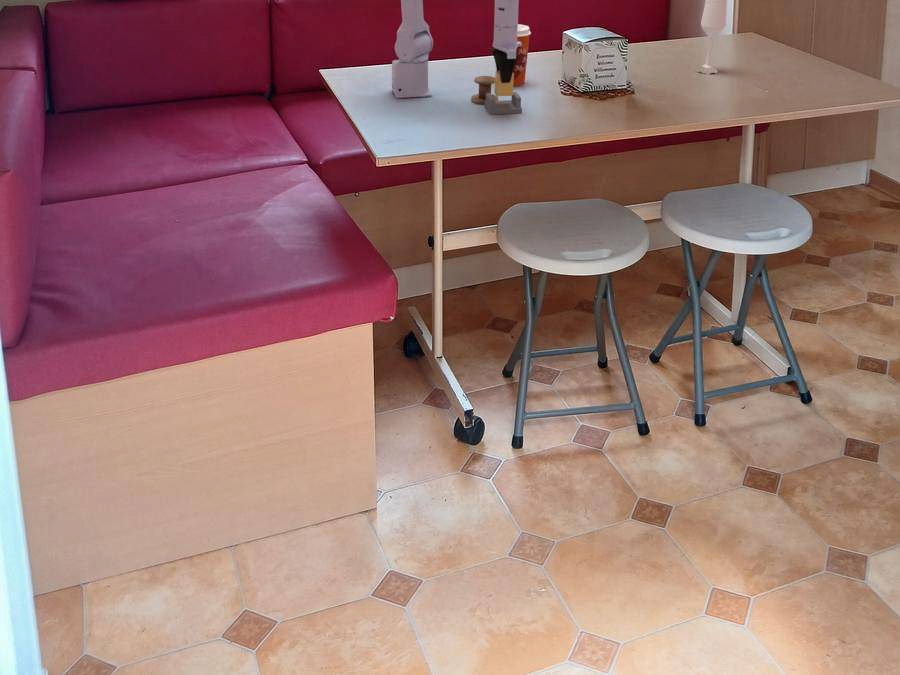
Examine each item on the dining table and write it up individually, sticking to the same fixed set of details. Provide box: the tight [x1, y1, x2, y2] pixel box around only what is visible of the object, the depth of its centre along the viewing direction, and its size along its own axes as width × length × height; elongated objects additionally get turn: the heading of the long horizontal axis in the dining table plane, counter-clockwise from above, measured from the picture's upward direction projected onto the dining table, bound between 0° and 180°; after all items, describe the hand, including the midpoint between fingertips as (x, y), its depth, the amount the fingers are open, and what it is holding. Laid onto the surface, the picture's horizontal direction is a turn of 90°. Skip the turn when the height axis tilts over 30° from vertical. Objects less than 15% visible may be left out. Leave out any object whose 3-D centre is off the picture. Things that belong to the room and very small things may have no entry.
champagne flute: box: [700, 0, 728, 68], centre depth 288 cm, size 7×7×24 cm
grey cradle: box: [484, 91, 523, 116], centre depth 261 cm, size 8×7×4 cm
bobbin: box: [470, 75, 499, 106], centre depth 267 cm, size 7×7×6 cm
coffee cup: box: [513, 23, 532, 87], centre depth 278 cm, size 8×8×15 cm
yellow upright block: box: [493, 70, 514, 97], centre depth 259 cm, size 4×3×6 cm
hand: (504, 80), depth 258 cm, fingers closed on yellow upright block, 3 cm apart
